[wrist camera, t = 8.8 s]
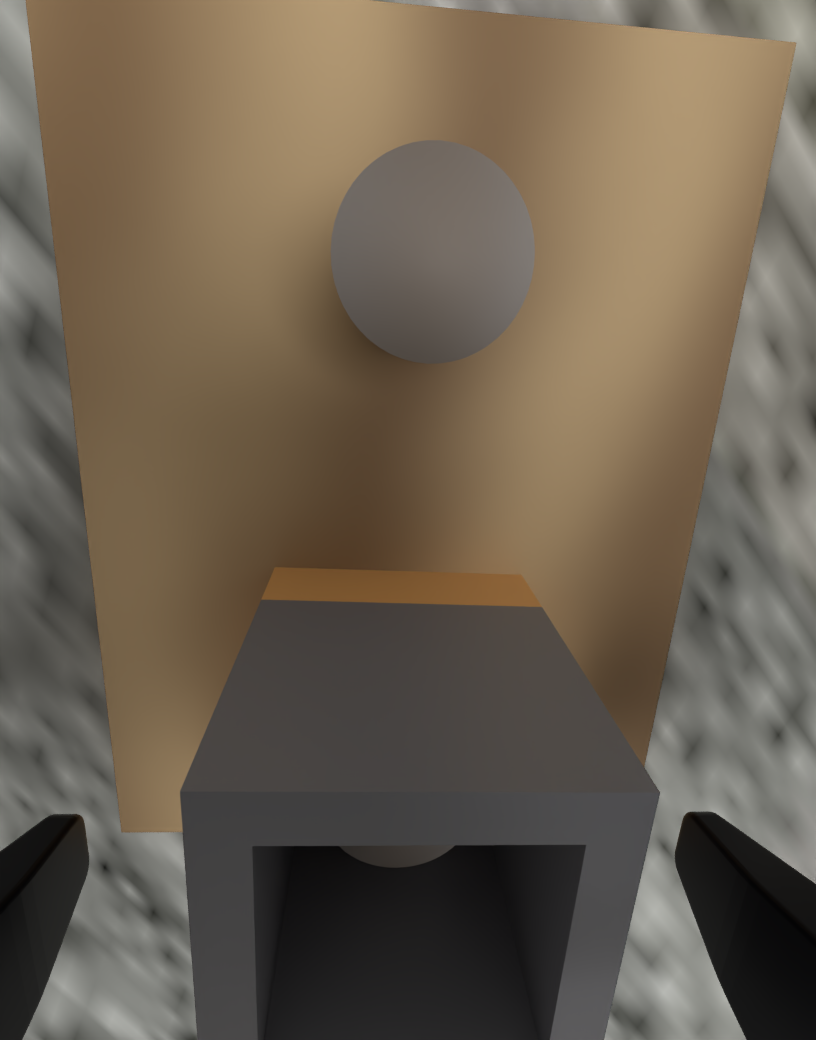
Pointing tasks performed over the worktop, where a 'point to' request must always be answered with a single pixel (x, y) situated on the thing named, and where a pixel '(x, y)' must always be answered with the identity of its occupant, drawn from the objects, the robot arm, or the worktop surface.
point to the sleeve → (409, 819)
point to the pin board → (316, 406)
